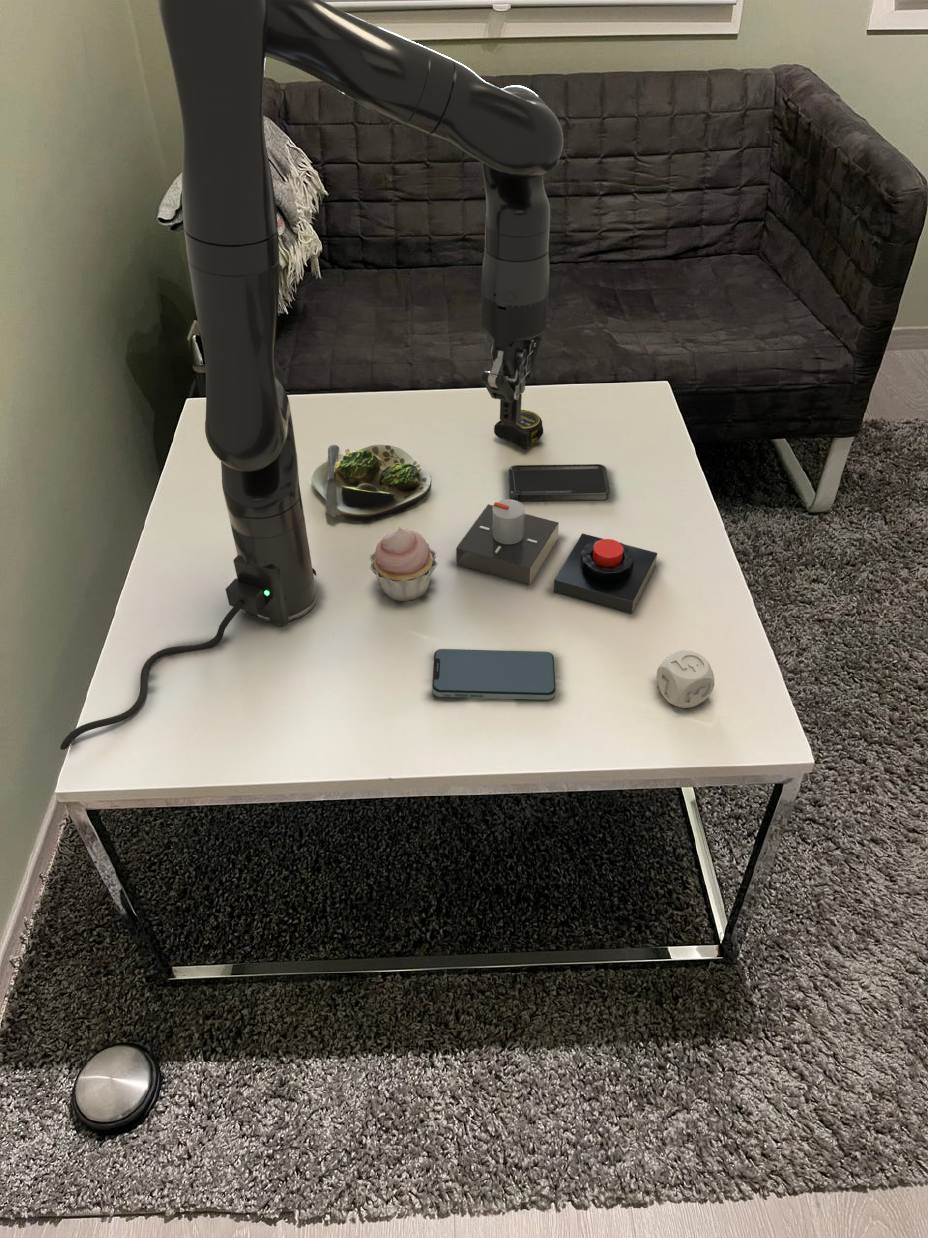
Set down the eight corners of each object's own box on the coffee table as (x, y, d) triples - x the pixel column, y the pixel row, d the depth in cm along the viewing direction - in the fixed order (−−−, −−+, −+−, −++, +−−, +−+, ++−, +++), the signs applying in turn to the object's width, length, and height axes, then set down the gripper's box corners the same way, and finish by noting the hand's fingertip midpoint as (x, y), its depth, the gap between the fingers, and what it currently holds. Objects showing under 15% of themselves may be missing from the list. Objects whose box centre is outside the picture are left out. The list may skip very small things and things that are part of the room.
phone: (508, 465, 157) (605, 463, 157) (508, 471, 158) (604, 469, 157) (510, 495, 151) (610, 494, 151) (510, 501, 152) (610, 500, 152)
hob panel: (529, 585, 138) (530, 567, 136) (456, 564, 142) (455, 547, 139) (558, 538, 145) (559, 521, 143) (487, 520, 149) (487, 502, 147)
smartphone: (556, 694, 122) (431, 691, 122) (555, 703, 123) (431, 700, 123) (553, 649, 127) (434, 646, 127) (552, 659, 128) (434, 656, 128)
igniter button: (616, 570, 135) (618, 560, 133) (588, 563, 136) (589, 553, 135) (626, 553, 137) (627, 543, 136) (598, 545, 138) (599, 535, 137)
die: (654, 685, 124) (658, 657, 121) (688, 673, 126) (694, 644, 122) (676, 713, 121) (681, 685, 117) (711, 700, 122) (717, 671, 119)
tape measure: (491, 440, 164) (491, 420, 162) (519, 422, 168) (519, 403, 165) (523, 456, 161) (524, 436, 158) (551, 438, 164) (552, 418, 162)
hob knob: (529, 530, 142) (530, 502, 139) (515, 548, 139) (515, 520, 136) (501, 521, 144) (501, 494, 140) (486, 538, 141) (486, 511, 138)
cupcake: (428, 558, 143) (424, 501, 136) (447, 600, 136) (445, 542, 129) (363, 572, 141) (357, 515, 134) (380, 616, 134) (374, 558, 127)
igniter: (631, 614, 134) (634, 591, 131) (553, 592, 137) (554, 569, 134) (655, 564, 141) (659, 542, 138) (581, 544, 144) (582, 522, 142)
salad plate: (285, 470, 159) (281, 445, 156) (386, 436, 165) (384, 412, 162) (339, 536, 147) (335, 510, 144) (445, 496, 153) (444, 471, 150)
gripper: (507, 258, 119) (503, 389, 131) (460, 305, 110) (460, 440, 122) (567, 270, 117) (557, 402, 129) (523, 319, 108) (517, 455, 120)
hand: (510, 420), depth 125 cm, fingers closed
